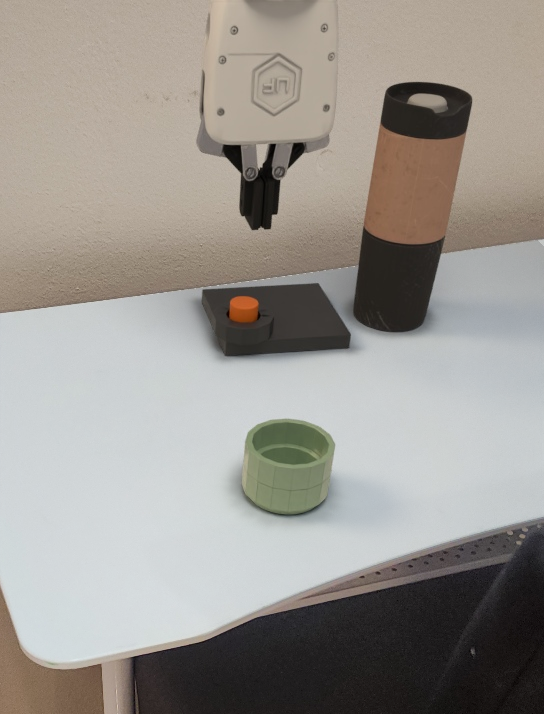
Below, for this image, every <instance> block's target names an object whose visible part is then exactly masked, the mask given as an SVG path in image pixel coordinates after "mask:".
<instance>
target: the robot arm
mask: <svg viewBox="0 0 544 714" xmlns="http://www.w3.org/2000/svg"><path fill="white" fill-rule="evenodd" d="M338 7H339V6H338V0H210V2H209V7H208V13H207V19H206V25H205V31H204V32H205V33H204V40H203V51H202V57H201V69H200V79H199V80H200V81H199V94H198V95H199V96H198V97H199V98H198V106H199V107H198V108H199V109H198V111H199V118H200V122H199V123H200V124H199V128H198V132H197V136H196V139H195V143H196V146H197V148H198V150H199V151H200V153H202V154H206V155H210V156H214V157H219V158H221V157H222V158H226V159H227V160H228V162H230V163H231V165H232V166H233V167H234V168H235V169H236V170H237V171H238V172H239V173H240V183H239V184H240V185H239V200H238V201H239V202H238V203H239V204H238V205H239V206H238V208H239V214H240V216H241V217H245V219H244V220H245V221H246V223H247V224H248V226H249V228H250V229H251V231H259V229H263V230H265V231H267V230H271V229H272V220H273V216H277V215H278V214H279V204H280V192H281V191H280V190H281V180H283V179H284V178H285V177H286V175H287V174H288V173H287V172H288V170H289V169H290V168H291V167H292V166H293V165H294V164H295V163H296V161H298V159H299V158H301V156H302V155H304V154H309V153H312V152H316V151H319V150H322V149H325V148H327V147H328V146H329V144H330V141H331V140H330V139H331V138H330V134H331V132H332V130H333V127H334V124H335V118H336V108H337V97H338V96H337V95H338V94H337V93H338V74H339V73H338V70H339V10H338V9H339V8H338ZM257 145H267V148H266V152H265V156H264V162H263V163H262V164H261V165H262V166H261V167H259V166H258V165H259V164H258V154H257Z"/></svg>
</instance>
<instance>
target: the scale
mask: <svg viewBox="0 0 544 714" xmlns="http://www.w3.org/2000/svg"><path fill="white" fill-rule="evenodd" d="M239 296H247V297H252V298H254V299H256V300H257V301H258V303H259V305H258V317H257V320H256V321H254V322H247V323H241V322H236V321H233V320H231V319H230V318H229V313H230V301H231V300H232V299H233V298H235V297H239ZM201 304H202V306H203V309H204V311H205V313H206V315H207V317H208V320H209V322H210V324H211V329H212V332H213V334H214V336H215V338H217V340H218V343H219V345H220V347H221V350H222V352H223V354H224V356H225V357H229V356H243V355H260V354H263V355H264V354H276V353H292V352H307V351H309V352H310V351H322V350H323V351H324V350H338V349H349V348H350V346H351V345H350V344H351V338H352V333H351V332H350V331H349V329H348V327H347V326H346V324H345V322H344V321H343V319H342V318H341V316H340V315H339V313H338V311H337V310H336V308H335V307H334V305H333V303H332V302H331V300H330V299H329V297H328V296H327V294H326V293H325V291H324V289H323V288H322V286H321V285H320V283H319V282H315V283H313V282H312V283H311V282H310V283H295V284H293V283H292V284H277V285H258V286H257V285H255V286H239V287H237V286H236V287H220V288H219V287H217V288H204V289H202V291H201Z"/></svg>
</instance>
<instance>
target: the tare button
mask: <svg viewBox="0 0 544 714" xmlns="http://www.w3.org/2000/svg"><path fill="white" fill-rule="evenodd" d="M258 305H259V303H258V301H257V300H256V299H254V298H252V297H247V296H239V297H235V298H233V299H232V300H231V301H230V313H229V318H230V319H231V320H233V321H236V322H241V323H247V322H254V321H256V320H257V317H258Z"/></svg>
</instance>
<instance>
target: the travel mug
mask: <svg viewBox="0 0 544 714" xmlns="http://www.w3.org/2000/svg"><path fill="white" fill-rule="evenodd" d="M384 92H385V93H384V97H383V101H382V110H381V115H380V122H379V127H378V133H377V140H376V145H375V151H374V159H373V164H372V170H371V176H370V182H369V189H368V194H367V201H366V207H365V213H364V219H363V225H362V226H363V227H362V234H361V242H360V249H359V258H358V265H357V266H358V267H357V274H356V275H357V277H356V282H355V291H354V299H353V300H354V301H353V308H352V310H353V316H354V317H355V319H356V320H357V321H358V322H359V323H361V324H363V325H364V326H366V327H369V328H371V329H375V330H379V331H383V332H393V333H394V332H395V333H396V332H397V333H398V332H408V331H413V330H415V329H417V328H419V327H420V326H422V325H423V323H424V322H425V319H426V316H427V312H428V308H429V304H430V301H431V296H432V294H433V288H434V284H435V280H436V275H437V272H438V268H439V264H440V261H441V255H442V252H443V247H444V243H445V239H446V234H447V230H448V226H449V222H450V221H449V220H450V215H451V210H452V206H453V201H454V196H455V190H456V187H457V186H456V185H457V180H458V176H459V171H460V166H461V161H462V155H463V152H464V146H465V141H466V137H467V131H468V127H469V123H470V117H471V112H472V106H473V96H472V95H471V94H470V93H469V92H468V91H466V90H464V89H462V88H459V87H456V86H453V85H449V84H445V83H438V82H430V81H406V82H405V81H404V82H399V83H395V84H393V85H390V86H389V87H387V88H386V90H385V91H384Z"/></svg>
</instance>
